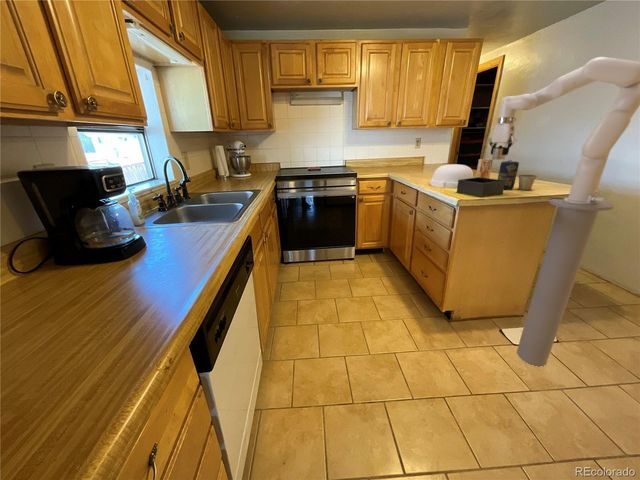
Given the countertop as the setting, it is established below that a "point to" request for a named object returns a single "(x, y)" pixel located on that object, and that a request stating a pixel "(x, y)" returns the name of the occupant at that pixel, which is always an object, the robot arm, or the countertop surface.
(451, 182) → the dome cover
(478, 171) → the candy box
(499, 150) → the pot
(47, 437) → the countertop surface
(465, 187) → the dark gray open box
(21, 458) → the countertop surface
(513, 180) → the canister
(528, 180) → the flower pot
